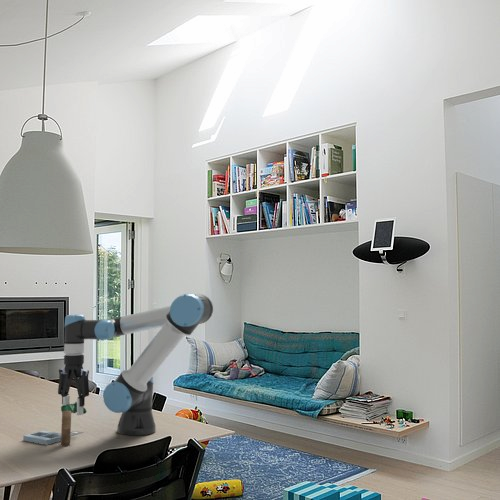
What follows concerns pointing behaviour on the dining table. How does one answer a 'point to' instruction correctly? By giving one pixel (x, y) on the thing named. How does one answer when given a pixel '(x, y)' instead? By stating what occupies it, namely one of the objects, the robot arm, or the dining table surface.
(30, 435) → the socket board
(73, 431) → the card
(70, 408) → the gaming controller
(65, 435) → the peg
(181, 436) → the dining table surface
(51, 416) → the dining table surface
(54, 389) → the dining table surface
